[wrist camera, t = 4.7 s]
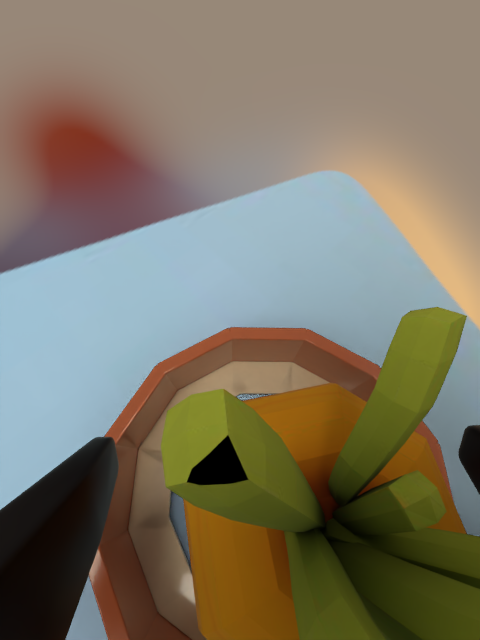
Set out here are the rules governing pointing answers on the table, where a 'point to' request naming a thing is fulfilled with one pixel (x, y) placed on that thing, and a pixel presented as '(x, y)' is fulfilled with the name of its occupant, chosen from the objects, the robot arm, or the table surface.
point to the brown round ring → (148, 474)
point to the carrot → (327, 506)
